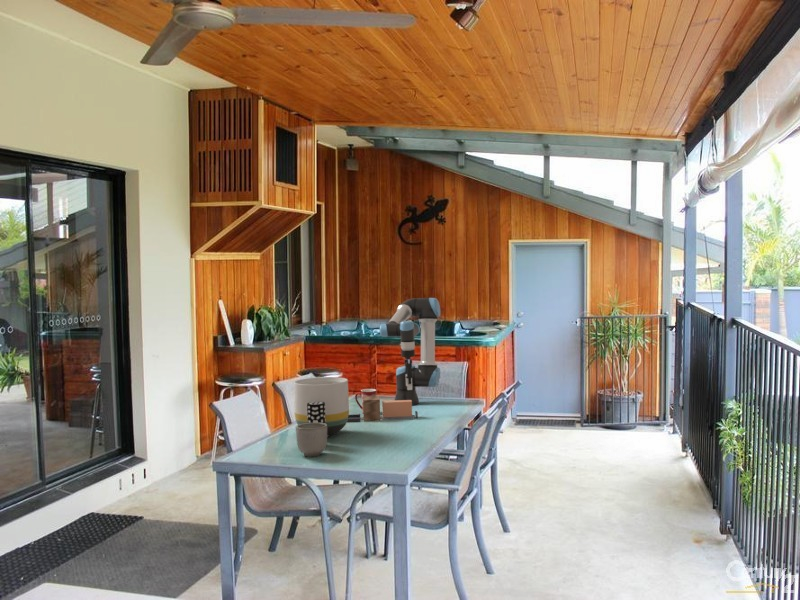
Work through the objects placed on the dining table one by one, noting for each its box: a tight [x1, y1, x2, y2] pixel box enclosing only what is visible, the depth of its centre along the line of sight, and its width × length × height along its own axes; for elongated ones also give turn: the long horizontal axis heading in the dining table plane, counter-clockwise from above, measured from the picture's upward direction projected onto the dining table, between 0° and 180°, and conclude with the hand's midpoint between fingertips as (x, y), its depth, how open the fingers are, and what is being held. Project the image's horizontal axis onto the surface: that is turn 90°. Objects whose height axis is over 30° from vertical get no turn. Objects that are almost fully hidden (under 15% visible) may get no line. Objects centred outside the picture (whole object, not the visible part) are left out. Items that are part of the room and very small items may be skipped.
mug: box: [355, 388, 377, 415], centre depth 403 cm, size 13×9×14 cm
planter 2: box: [295, 423, 328, 458], centre depth 310 cm, size 14×14×13 cm
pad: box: [381, 418, 414, 421], centre depth 387 cm, size 17×9×1 cm, turn 93°
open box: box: [362, 395, 381, 423], centre depth 386 cm, size 9×12×12 cm
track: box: [360, 410, 419, 421], centre depth 386 cm, size 31×5×3 cm, turn 93°
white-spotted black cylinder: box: [307, 402, 326, 424], centre depth 326 cm, size 8×8×20 cm
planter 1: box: [293, 376, 350, 437], centre depth 350 cm, size 27×27×27 cm
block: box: [381, 400, 413, 417], centre depth 387 cm, size 16×6×8 cm, turn 93°
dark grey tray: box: [347, 413, 361, 423], centre depth 386 cm, size 9×12×2 cm
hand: (409, 387), depth 387 cm, fingers open, 13 cm apart
